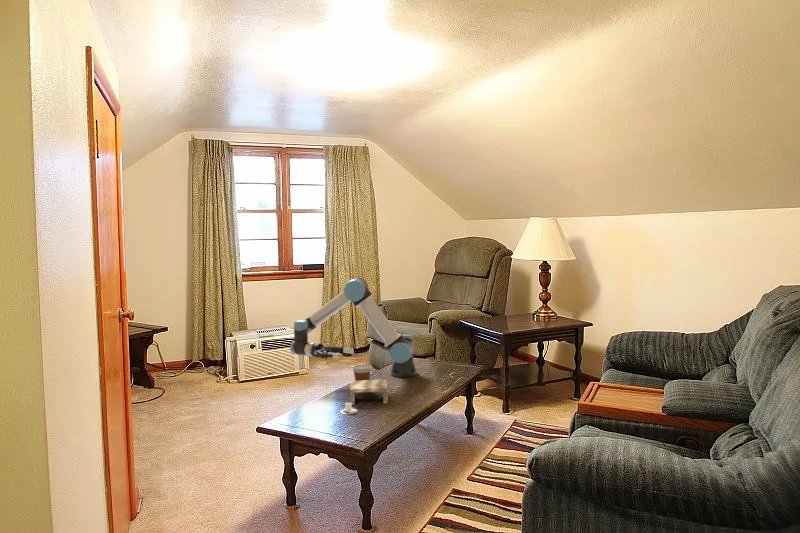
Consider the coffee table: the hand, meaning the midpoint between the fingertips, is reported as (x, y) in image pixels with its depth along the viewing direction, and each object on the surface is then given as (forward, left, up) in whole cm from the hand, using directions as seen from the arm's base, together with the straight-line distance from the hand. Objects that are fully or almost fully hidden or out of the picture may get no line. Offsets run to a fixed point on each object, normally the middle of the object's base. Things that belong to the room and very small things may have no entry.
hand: (345, 353), depth 301 cm
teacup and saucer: (0, +44, -19) cm, 48 cm away
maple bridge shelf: (-11, +24, -18) cm, 32 cm away
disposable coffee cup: (-8, +6, -18) cm, 21 cm away
